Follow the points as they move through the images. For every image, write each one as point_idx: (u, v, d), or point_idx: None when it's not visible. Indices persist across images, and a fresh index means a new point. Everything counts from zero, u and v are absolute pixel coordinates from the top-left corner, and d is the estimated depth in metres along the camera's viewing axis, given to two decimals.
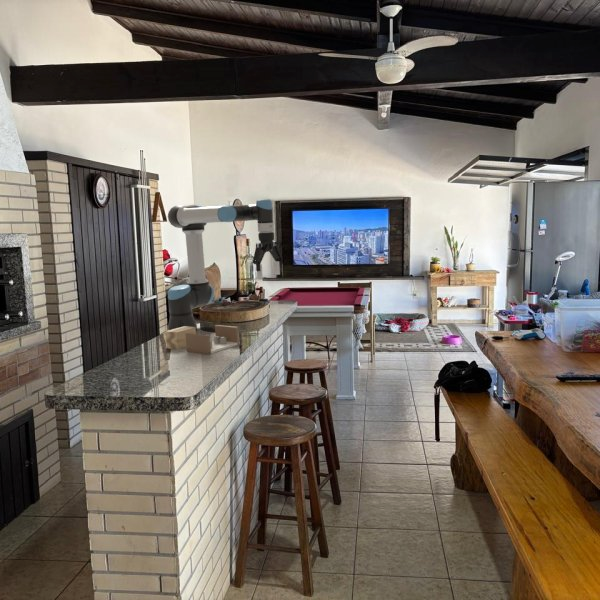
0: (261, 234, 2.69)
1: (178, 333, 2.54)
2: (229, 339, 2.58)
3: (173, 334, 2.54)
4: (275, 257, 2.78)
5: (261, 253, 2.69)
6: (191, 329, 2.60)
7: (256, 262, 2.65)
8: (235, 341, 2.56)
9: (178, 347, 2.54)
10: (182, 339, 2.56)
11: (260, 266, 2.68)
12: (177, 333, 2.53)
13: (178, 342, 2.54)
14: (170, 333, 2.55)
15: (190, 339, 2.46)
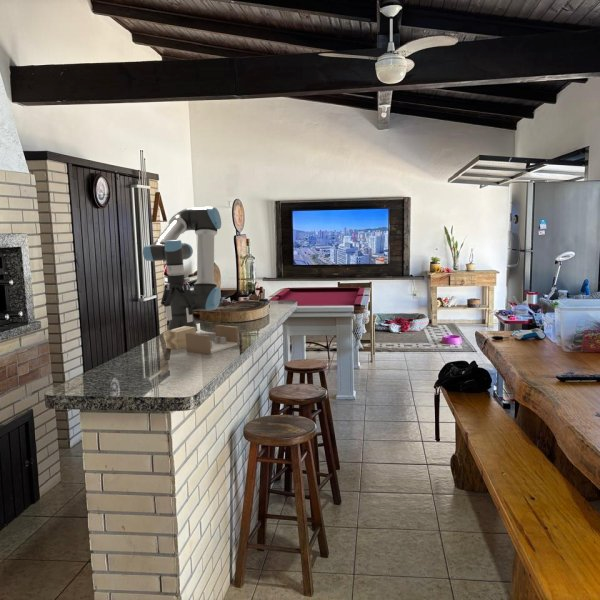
0: None
1: (178, 333, 2.54)
2: (229, 339, 2.58)
3: (173, 334, 2.54)
4: None
5: None
6: (191, 329, 2.60)
7: None
8: (235, 341, 2.56)
9: (178, 347, 2.54)
10: (182, 339, 2.56)
11: (165, 308, 2.61)
12: (177, 333, 2.53)
13: (178, 342, 2.54)
14: (170, 333, 2.55)
15: (190, 339, 2.46)
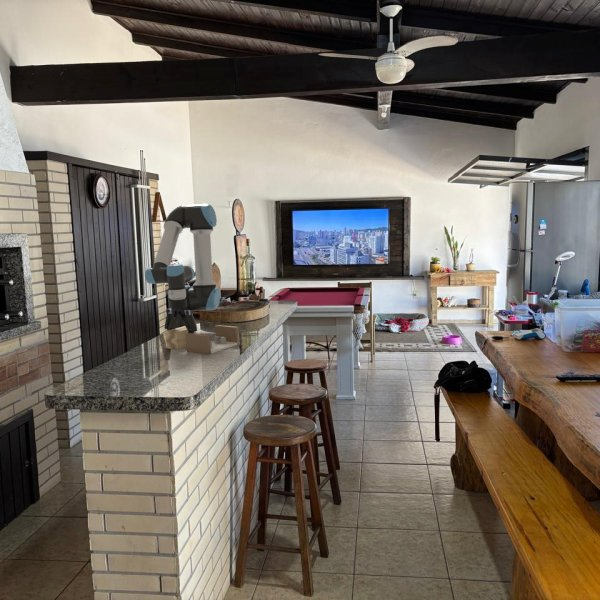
0: None
1: (178, 333, 2.54)
2: (229, 339, 2.58)
3: (173, 334, 2.54)
4: None
5: None
6: None
7: None
8: (235, 341, 2.56)
9: (178, 347, 2.54)
10: (182, 339, 2.56)
11: None
12: (177, 333, 2.53)
13: (178, 342, 2.54)
14: (170, 333, 2.55)
15: (190, 339, 2.46)
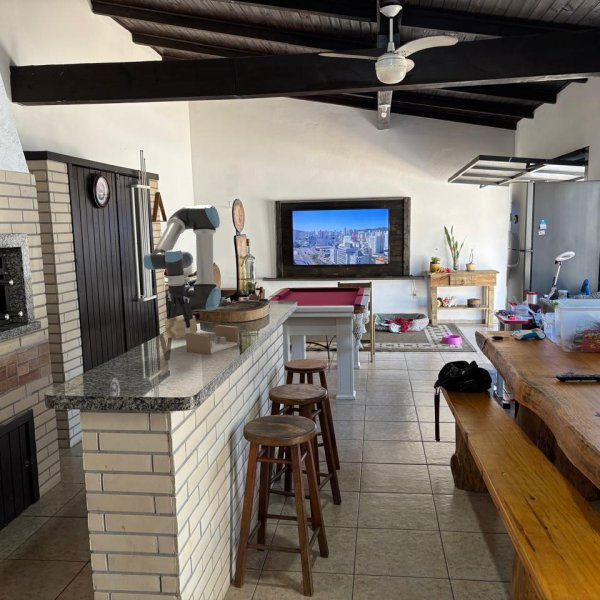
0: None
1: (177, 322, 2.53)
2: (229, 339, 2.58)
3: (172, 323, 2.53)
4: None
5: None
6: None
7: (167, 317, 2.62)
8: (235, 341, 2.56)
9: (178, 336, 2.54)
10: (181, 327, 2.55)
11: None
12: (176, 322, 2.53)
13: (178, 331, 2.54)
14: (169, 322, 2.54)
15: (190, 339, 2.46)
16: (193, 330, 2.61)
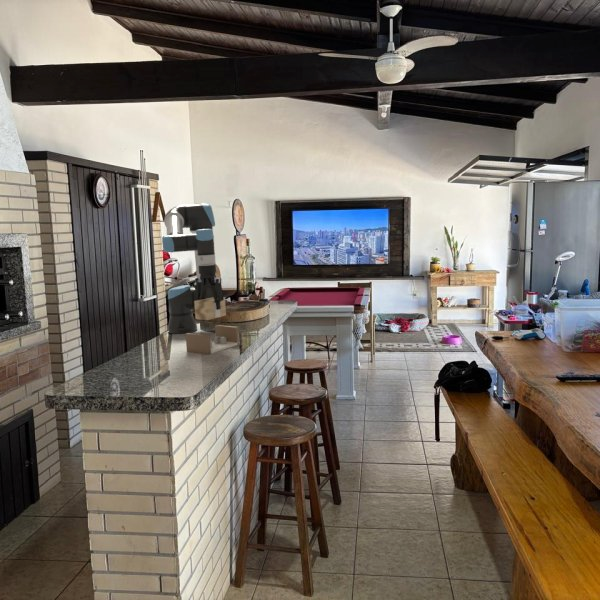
0: None
1: (208, 303, 2.44)
2: (229, 339, 2.58)
3: (203, 304, 2.44)
4: None
5: None
6: None
7: (196, 299, 2.53)
8: (235, 341, 2.56)
9: (208, 317, 2.44)
10: (211, 309, 2.46)
11: None
12: (207, 303, 2.44)
13: (208, 312, 2.44)
14: (199, 303, 2.45)
15: (190, 339, 2.46)
16: (222, 312, 2.52)
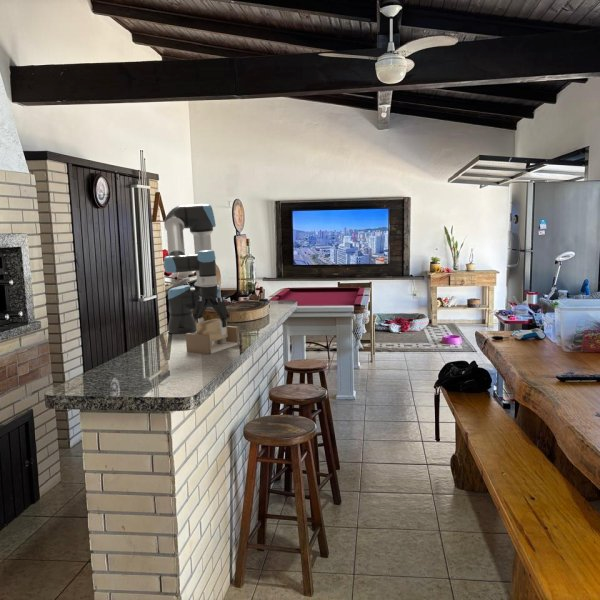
0: None
1: (209, 325, 2.46)
2: (229, 339, 2.58)
3: (204, 326, 2.46)
4: None
5: None
6: None
7: (193, 315, 2.56)
8: (235, 341, 2.56)
9: None
10: (213, 331, 2.48)
11: None
12: (209, 325, 2.45)
13: (210, 334, 2.46)
14: (201, 325, 2.47)
15: (190, 339, 2.46)
16: (224, 334, 2.53)
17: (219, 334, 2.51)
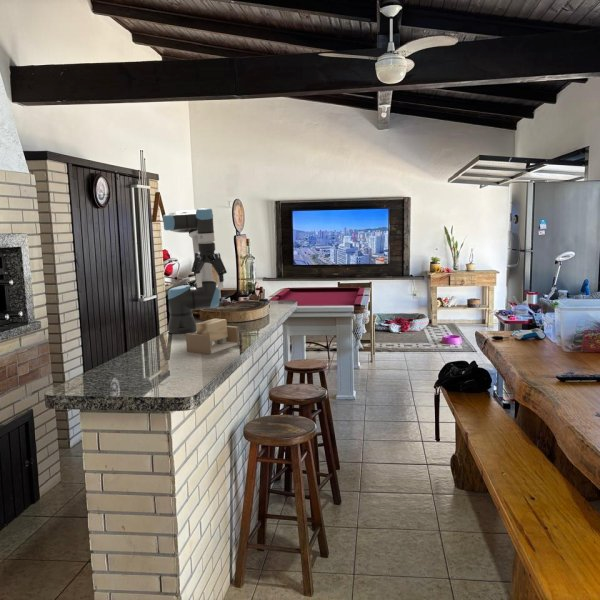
0: None
1: (209, 325, 2.46)
2: (229, 339, 2.58)
3: (204, 326, 2.46)
4: None
5: None
6: (222, 321, 2.52)
7: None
8: (235, 341, 2.56)
9: None
10: (213, 331, 2.48)
11: (196, 276, 2.67)
12: (209, 325, 2.45)
13: (210, 334, 2.46)
14: (201, 325, 2.47)
15: (190, 339, 2.46)
16: (224, 334, 2.53)
17: (219, 334, 2.51)
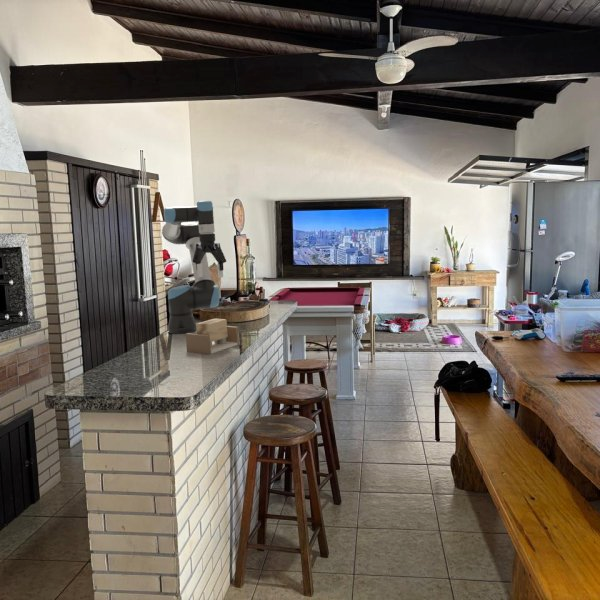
0: None
1: (209, 325, 2.46)
2: (229, 339, 2.58)
3: (204, 326, 2.46)
4: None
5: None
6: (222, 321, 2.52)
7: (192, 261, 2.80)
8: (235, 341, 2.56)
9: None
10: (213, 331, 2.48)
11: (197, 266, 2.79)
12: (209, 325, 2.45)
13: (210, 334, 2.46)
14: (201, 325, 2.47)
15: (190, 339, 2.46)
16: (224, 334, 2.53)
17: (219, 334, 2.51)
